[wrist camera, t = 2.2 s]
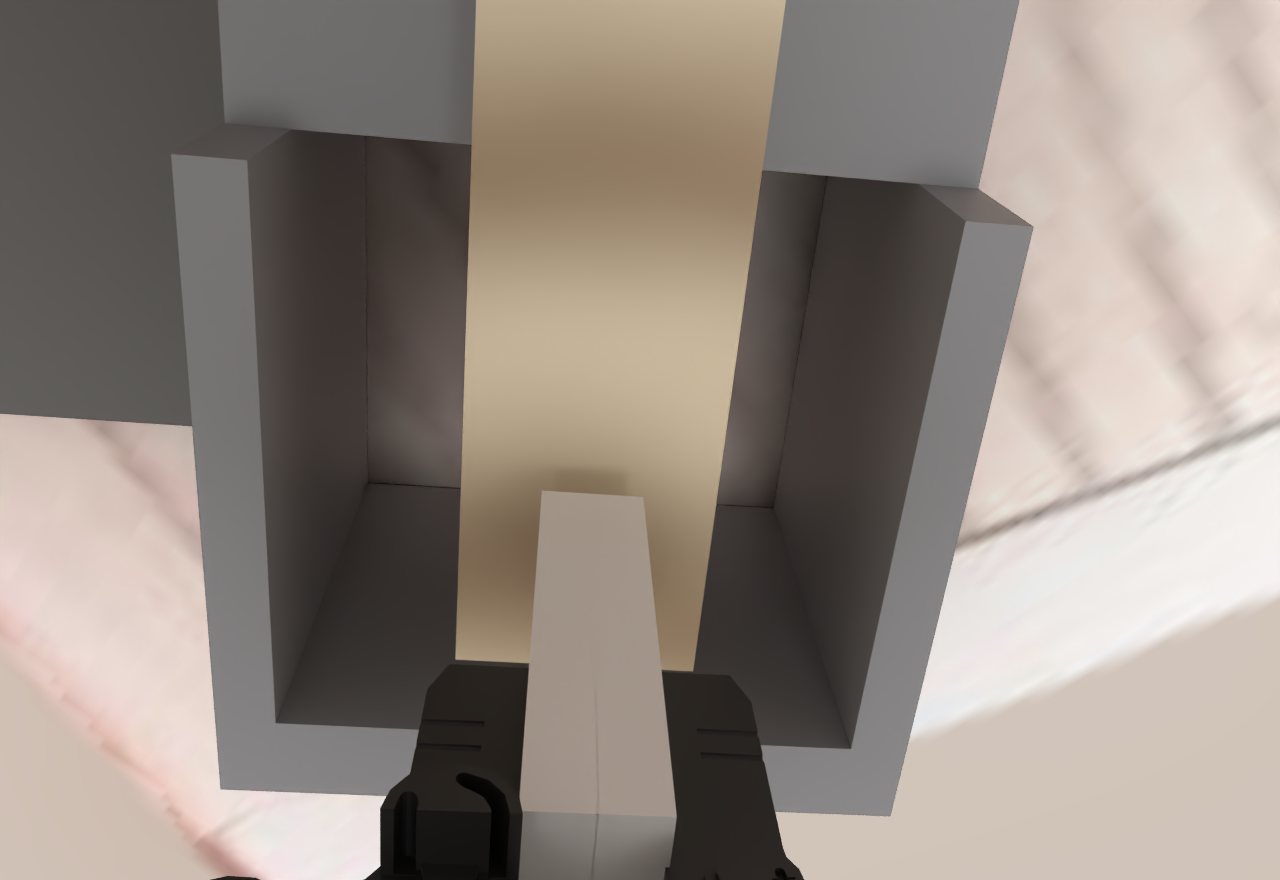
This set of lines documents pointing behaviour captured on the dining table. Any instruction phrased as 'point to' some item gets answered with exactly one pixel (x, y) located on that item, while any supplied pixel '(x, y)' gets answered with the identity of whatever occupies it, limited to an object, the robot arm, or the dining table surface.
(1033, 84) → the dining table surface
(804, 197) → the dining table surface
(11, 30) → the rubber mat
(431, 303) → the dining table surface
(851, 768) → the pocket block
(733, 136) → the birch bar
